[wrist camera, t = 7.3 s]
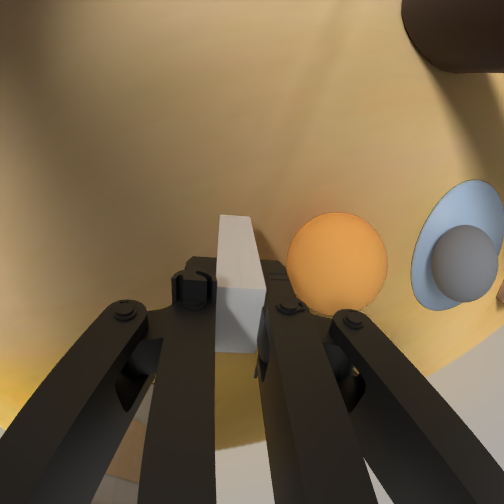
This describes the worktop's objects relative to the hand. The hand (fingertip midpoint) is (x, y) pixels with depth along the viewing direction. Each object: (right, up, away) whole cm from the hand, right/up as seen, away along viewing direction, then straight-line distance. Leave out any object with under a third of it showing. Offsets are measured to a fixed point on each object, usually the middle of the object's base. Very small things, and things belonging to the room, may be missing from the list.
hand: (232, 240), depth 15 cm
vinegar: (+13, +14, -4) cm, 20 cm away
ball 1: (+6, -1, 0) cm, 6 cm away
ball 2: (+16, -1, +1) cm, 16 cm away
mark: (+19, 0, +4) cm, 19 cm away
